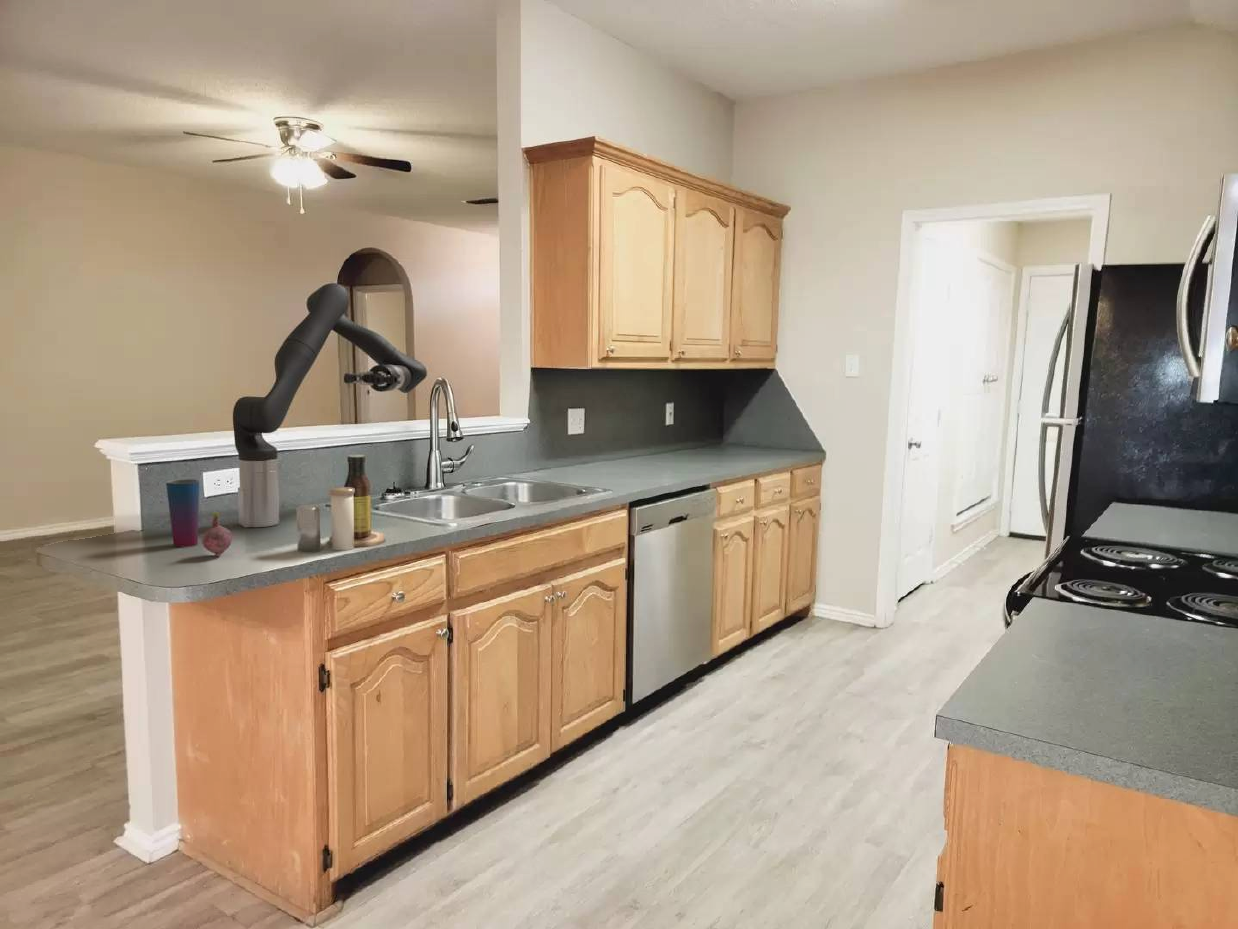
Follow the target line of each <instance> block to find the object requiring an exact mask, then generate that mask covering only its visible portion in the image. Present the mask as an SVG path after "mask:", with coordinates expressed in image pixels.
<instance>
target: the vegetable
mask: <svg viewBox="0 0 1238 929" xmlns="http://www.w3.org/2000/svg"><path fill="white" fill-rule="evenodd" d="M212 518H213V519H212V525H211V527H210V528H209V529H207V530H205V531H204V533H203V534H202V537H201V544H202V546H203V547H204V549H206V550H207V551H208V552H210V553H213V554H214V555H215V556H221V555H222V554H224V553H225V551H227V550H228V549H229V547H230V546H231V545H232V542H233V537H234V536H233V534H232V532H231V530H229V529H228V528H226V527H224V526H222V525H220V523H219V521H218V520H219V512H218V511H217V512H215V514H213V517H212Z"/></svg>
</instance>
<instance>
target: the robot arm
mask: <svg viewBox="0 0 1238 929" xmlns="http://www.w3.org/2000/svg"><path fill="white" fill-rule="evenodd" d="M349 306H350V295H349V292H348V291H347V289H346V288H345V287H344V286H343V285H342V284H339V283H336V282H331V283H326V284H324V285H322V286H320V287H319V288H318V289H317V290H315V291H314V292H312V293H311V294H310V295H309V296H308V297H307V300H306V308H307V310H308V312H309V313H308V315H306V317H305V318H303V319H302V321H301V322H300V323H299V324H298V325H297V326H296V327H294V329H292V331H291V332H290V333H289V335H288V336H287V337H286V338H285V340H284V341H283V343H282V344H281V345H280V347H279V349H278V350H277V352H276V354H275V357H274V362H273V363H274V372H275V381H274V384H273V385H272V387H271V389H270V390H269V392H268V393H267V395H266V396H250V395H249V396H242V397H240V398H238V400H236V402H235V403H234V407H233V409H232V410H233V411H232V426H233V436H234V438H233V439H234V446H235V449H236V451H237V453H238V467H239V468H238V472H239V474H238V475H239V487H237V500H238V502H237V503H238V504H237V505H238V508H237V509H238V524H239V525H241V526H242V527H243V528H266V527H272V526H277V525H279V524H280V508H279V507H280V502H279V501H280V500H279V498H280V497H279V496H280V495H279V471H278V470H279V469H278V465H279V464H278V461H279V459H278V449H277V447H276V446H274V445H273V444H270V443H269V442H267V440H265V439H264V437H263V434H271V433H274V432H276V431H278V429H279V428H280V427H281V425H282V424H283V422H284V420H285V418H286V416H287V415H288V411H289V409H290V407H291V405H292V403H293V401H294V398H295V396H296V394H297V392H298V390H299V389H300V387H301V385H302V382H303V381H304V380H305V378H306V376H307V374H308V373H309V371H310V370H311V368H312V367H313V365H314V363H315V361H316V359H317V358H318V356H319V354H320V352H321V351H322V349H323V347H324V346H325V344H326V341H327V339H328V337H329V335H330V333H331V331H333V332H334V333H336V334H337V335H340V336H341V337H342V338H344V339H345V340H347V341H348V342H350V343H351V344H352V345H354V346H355V347H357V348H359V350H361V351H362V352H364V353H365V354H366V355H367V356H368V357H369V358H370V359H371V360H373V361H374V362H375V363H376V364H377V365H374V366H373V367H371V368H370V370H369V371H363V372H362V371H359V372H354V373H349V372H348V373H344V376H343V383H345V384H351V385H352V384H357V385H358V386H369V387H371V389H373V390H374V391H376V392H379V393H381V392H391V391H396V390H398V391H399V392H401V393H404V394H406V393H407V394H408V393H410V392H412V391H413V390H414V389H415V388H416V387H417V386H418V385H419V384H420V383H422V382H423V381H424V380H425V379H426V378H427V376H428V371H427V368H426V366H425V365H424V364H423V363H422V362H421V361H419V360H417V359H415V358H414V357H412V356H408V355H407V354H405V353H404V352H402V351H400V350H398V349H397V347H395V346H394V345H393V344H392V343H391V342H389V341H388V340H387V339H386V338H385V337H383V336H382V335H380V333H377V332H375V331H373V330H370V329H368V328H366V327H363V326H362V325H359V324H358V323H356V322H354V321H352V320H351V319H349V318H348V317H347V316H346V315H345V313H346V312H347V311H348V308H349Z"/></svg>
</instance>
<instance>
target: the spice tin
mask: <svg viewBox="0 0 1238 929" xmlns="http://www.w3.org/2000/svg"><path fill="white" fill-rule="evenodd" d="M320 509H321V507H320V506H319V505H311V504H310V505H299V506H297V507H296V533H297V534H296V539H297V540H296V541H297V552H298V553H302V552H311V553H317V552H320V551H321V549H322V545H321V544H322V543H321V542H322V541H321V510H320Z"/></svg>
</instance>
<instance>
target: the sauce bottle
mask: <svg viewBox="0 0 1238 929" xmlns="http://www.w3.org/2000/svg"><path fill="white" fill-rule="evenodd" d="M365 462H366V455H365V454H349V455H347V463H348V465H347V466H348V471H347V477H346V480H345V483H344V486H343V487H352V488H355V493H354V494H353V499H354V538H365V537H367V536H369V535H370V534H371V532H372V530H371V529H372V504H371V503H372V500H371V497H372V496H371V483H370V481H369V479H368V477H367V475H366V474H365V473H366V470H365V467H366V466H365V464H366V463H365Z"/></svg>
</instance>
